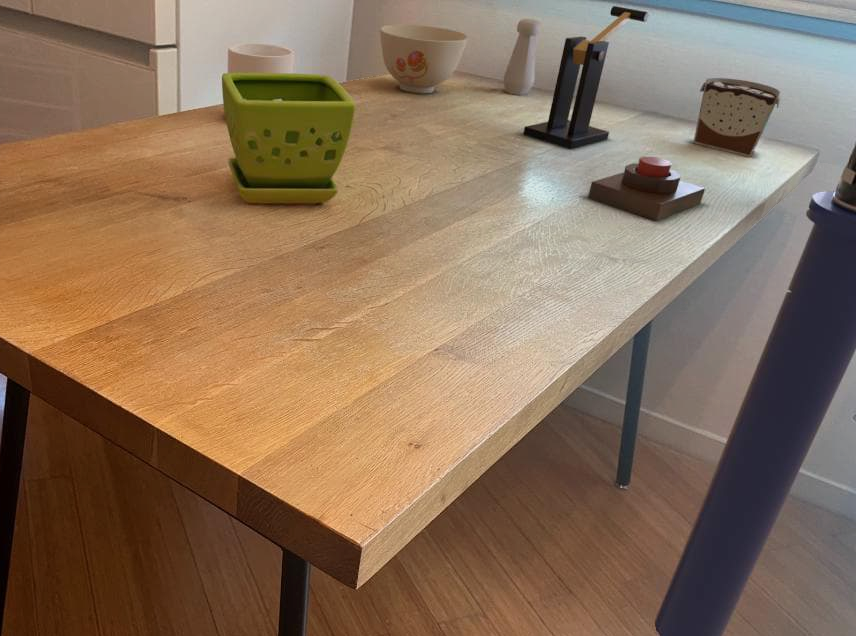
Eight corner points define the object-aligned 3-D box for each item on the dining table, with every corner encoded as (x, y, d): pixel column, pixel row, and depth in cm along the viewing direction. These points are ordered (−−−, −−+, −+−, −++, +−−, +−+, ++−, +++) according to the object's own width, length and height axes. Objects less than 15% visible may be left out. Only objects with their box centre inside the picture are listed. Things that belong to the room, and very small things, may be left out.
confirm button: (645, 167, 115) (649, 154, 115) (673, 176, 113) (677, 163, 112) (630, 172, 113) (634, 159, 112) (658, 181, 111) (662, 167, 110)
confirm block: (633, 183, 122) (641, 154, 119) (700, 204, 116) (709, 174, 114) (587, 197, 114) (594, 167, 112) (656, 221, 108) (665, 190, 106)
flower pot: (218, 173, 111) (220, 70, 105) (323, 174, 114) (331, 74, 108) (232, 211, 100) (234, 98, 93) (348, 211, 103) (359, 101, 96)
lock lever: (615, 15, 140) (615, 1, 138) (648, 22, 137) (649, 7, 135) (562, 60, 136) (562, 46, 134) (596, 68, 132) (596, 53, 130)
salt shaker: (529, 97, 163) (543, 23, 156) (499, 93, 165) (512, 19, 158) (533, 91, 168) (548, 19, 161) (504, 87, 170) (517, 15, 163)
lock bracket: (560, 126, 146) (581, 32, 139) (607, 139, 141) (631, 43, 133) (522, 134, 140) (542, 36, 132) (570, 149, 134) (593, 48, 127)
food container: (771, 152, 142) (794, 89, 137) (759, 159, 138) (782, 94, 132) (698, 135, 148) (716, 74, 143) (684, 140, 144) (703, 78, 139)
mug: (262, 131, 130) (265, 59, 124) (213, 117, 134) (214, 47, 129) (313, 119, 138) (318, 50, 133) (265, 105, 143) (268, 39, 138)
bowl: (357, 86, 161) (362, 28, 156) (406, 76, 172) (412, 22, 166) (428, 104, 153) (436, 44, 147) (475, 93, 163) (484, 36, 158)
